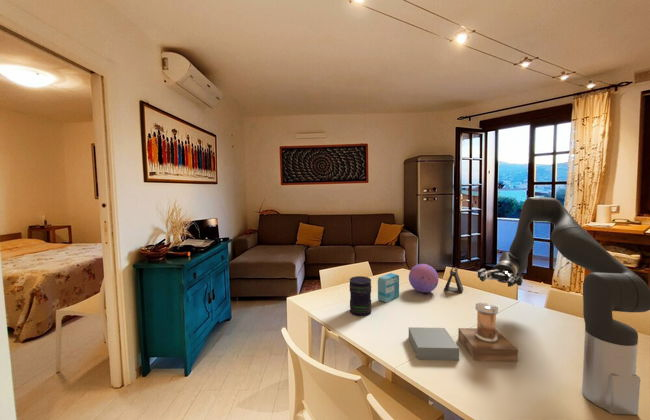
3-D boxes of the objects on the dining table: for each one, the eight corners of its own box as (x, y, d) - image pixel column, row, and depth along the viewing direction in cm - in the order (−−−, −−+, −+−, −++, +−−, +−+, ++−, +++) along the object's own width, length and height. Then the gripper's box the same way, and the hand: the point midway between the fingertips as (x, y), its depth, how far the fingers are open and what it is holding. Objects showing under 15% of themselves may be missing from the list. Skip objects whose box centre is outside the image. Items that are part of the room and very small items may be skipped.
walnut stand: (517, 361, 87) (518, 349, 86) (475, 360, 87) (475, 348, 87) (495, 339, 99) (495, 328, 99) (458, 338, 100) (458, 328, 100)
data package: (385, 303, 132) (384, 279, 132) (377, 300, 136) (377, 277, 135) (399, 297, 140) (399, 274, 139) (391, 294, 144) (391, 272, 143)
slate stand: (459, 360, 88) (459, 348, 88) (417, 359, 89) (417, 347, 88) (444, 338, 101) (444, 327, 100) (408, 337, 102) (408, 327, 101)
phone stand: (443, 290, 148) (444, 268, 147) (445, 286, 153) (445, 265, 152) (462, 293, 143) (462, 270, 143) (463, 289, 148) (463, 268, 148)
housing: (501, 343, 90) (502, 311, 89) (480, 343, 90) (481, 310, 89) (490, 333, 96) (491, 302, 95) (471, 332, 97) (472, 302, 96)
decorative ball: (411, 296, 140) (411, 268, 139) (406, 286, 155) (406, 260, 154) (441, 297, 138) (442, 268, 137) (434, 287, 153) (434, 260, 152)
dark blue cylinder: (346, 309, 127) (345, 277, 126) (364, 305, 131) (364, 275, 130) (356, 318, 118) (355, 284, 117) (375, 314, 121) (375, 281, 120)
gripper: (485, 259, 116) (474, 267, 105) (526, 265, 106) (519, 275, 95) (485, 276, 117) (473, 286, 105) (526, 284, 107) (518, 296, 95)
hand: (495, 281), depth 100 cm, fingers open, 8 cm apart
